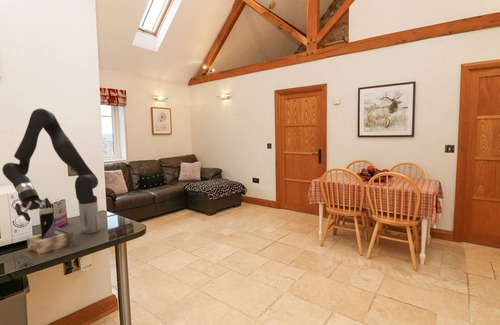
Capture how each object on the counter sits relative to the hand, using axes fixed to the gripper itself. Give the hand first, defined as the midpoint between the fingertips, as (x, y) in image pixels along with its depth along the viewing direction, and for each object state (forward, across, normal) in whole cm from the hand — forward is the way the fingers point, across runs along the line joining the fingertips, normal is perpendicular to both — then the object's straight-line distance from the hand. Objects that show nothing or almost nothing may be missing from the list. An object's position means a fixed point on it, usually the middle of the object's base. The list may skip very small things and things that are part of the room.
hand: (39, 217), depth 137 cm
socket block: (+16, -1, +3) cm, 16 cm away
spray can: (+15, 0, +3) cm, 15 cm away
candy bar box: (-8, +19, +28) cm, 35 cm away
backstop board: (+17, -2, +4) cm, 17 cm away
